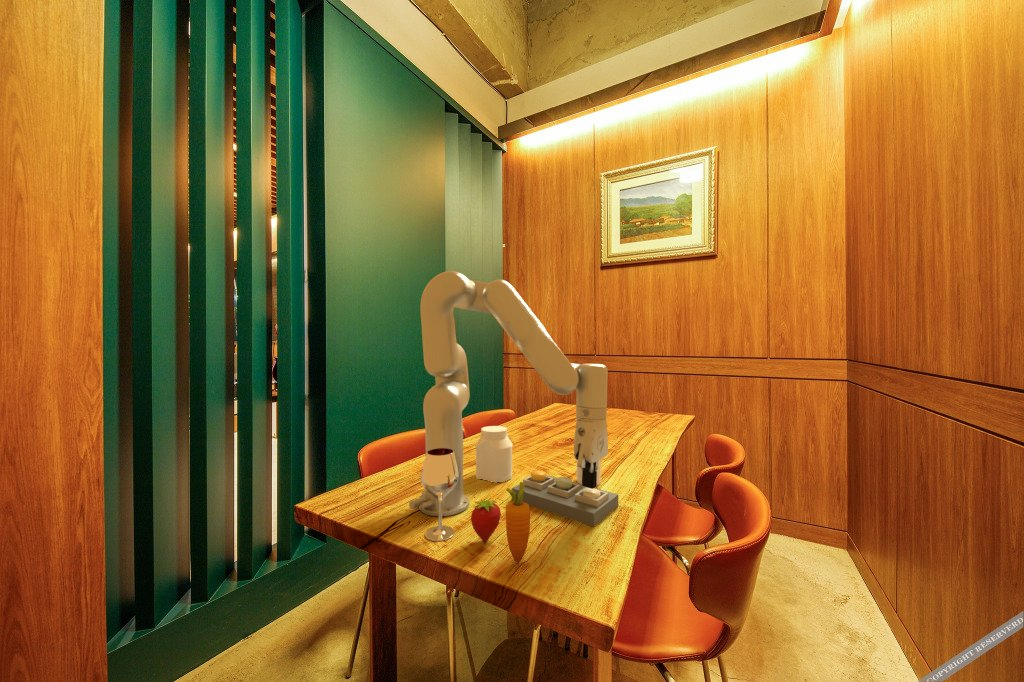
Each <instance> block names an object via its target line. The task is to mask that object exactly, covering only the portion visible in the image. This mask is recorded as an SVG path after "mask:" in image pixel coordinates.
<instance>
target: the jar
mask: <svg viewBox="0 0 1024 682" xmlns="http://www.w3.org/2000/svg"><path fill="white" fill-rule="evenodd" d="M475 457H476V458H475V478H477V479H483V480H482V481H484V480H488V481H487V482H489V481H492V482H495V483H494V484H498V483H497V482H502V483H505V482H504V481H506V482H508V481H510V480H512V478H513V442H512V441H511V440H510V438H509V436H508V428H507V427H505V426H501V425H489V426H484V427H481V429H480V438H479V439H478V440H477V442H476V443H475ZM477 479H476V480H477ZM509 479H510V480H509ZM507 480H508V481H507ZM492 482H491V483H492Z"/></svg>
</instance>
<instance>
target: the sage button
mask: <svg viewBox="0 0 1024 682" xmlns="http://www.w3.org/2000/svg"><path fill="white" fill-rule="evenodd" d="M555 478H556V487H558V488H561V489H569V488H571V487H572V482H573V479H572V478H570V477H568V476H560V477H555Z"/></svg>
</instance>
